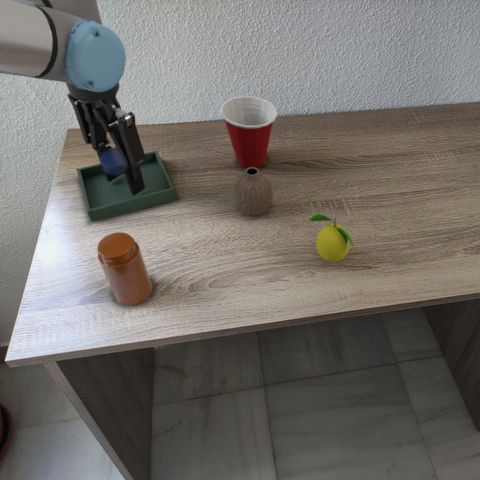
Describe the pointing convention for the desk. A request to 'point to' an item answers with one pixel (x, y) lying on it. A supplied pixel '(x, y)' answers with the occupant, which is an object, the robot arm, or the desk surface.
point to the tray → (124, 189)
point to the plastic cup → (249, 128)
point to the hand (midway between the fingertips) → (126, 184)
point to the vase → (253, 192)
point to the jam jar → (124, 268)
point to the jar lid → (112, 162)
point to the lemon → (332, 240)
